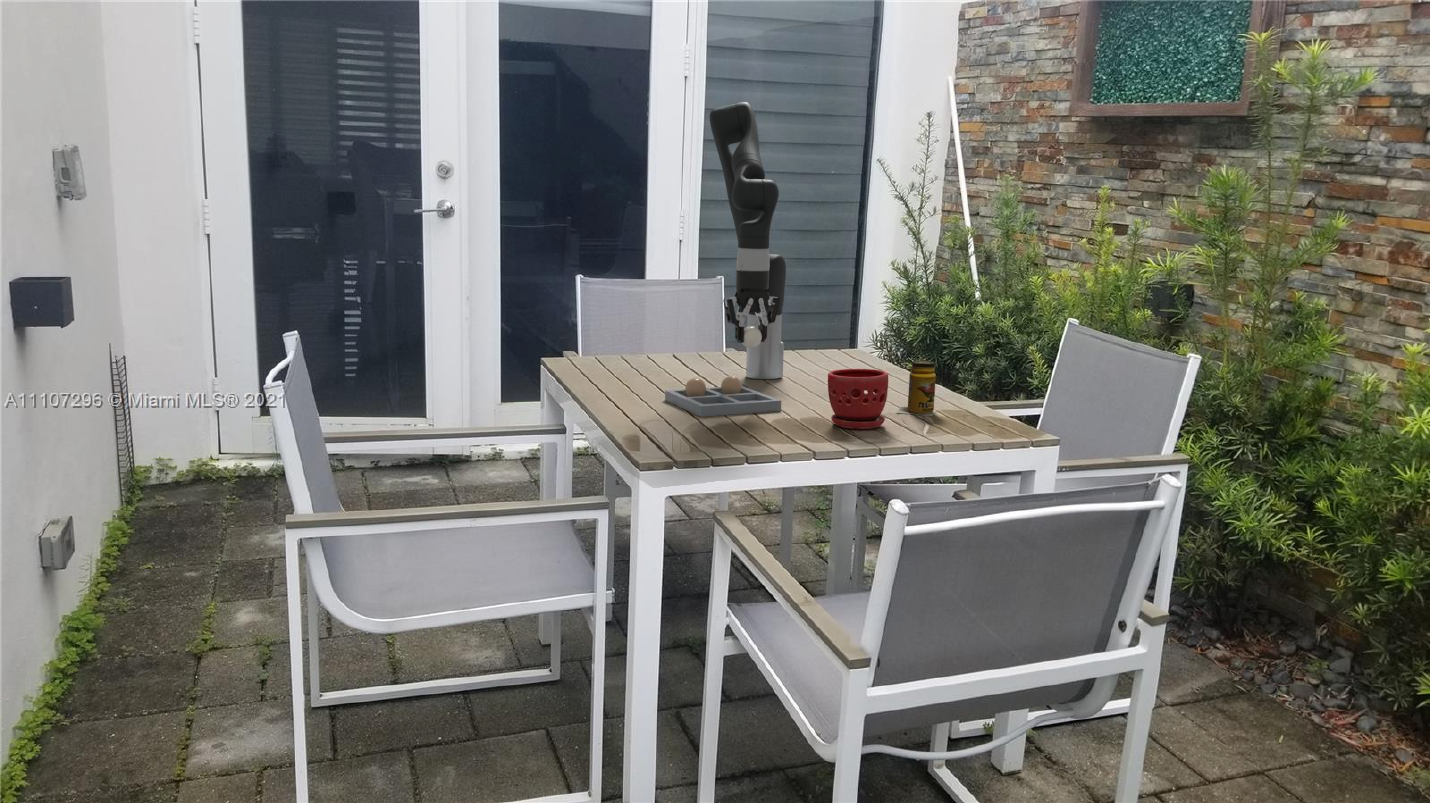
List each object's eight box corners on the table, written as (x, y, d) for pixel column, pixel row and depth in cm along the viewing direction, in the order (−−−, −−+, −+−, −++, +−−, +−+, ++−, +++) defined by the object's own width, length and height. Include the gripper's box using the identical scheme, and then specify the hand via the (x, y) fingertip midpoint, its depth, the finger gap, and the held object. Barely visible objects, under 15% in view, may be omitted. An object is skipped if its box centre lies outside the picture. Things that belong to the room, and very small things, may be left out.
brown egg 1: (700, 396, 269) (700, 375, 268) (709, 400, 265) (709, 379, 264) (681, 397, 267) (681, 377, 266) (690, 401, 262) (690, 380, 261)
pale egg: (755, 345, 262) (755, 324, 261) (765, 348, 258) (766, 327, 257) (736, 346, 260) (736, 325, 259) (745, 349, 256) (746, 328, 255)
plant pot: (875, 419, 252) (877, 366, 250) (894, 431, 240) (897, 376, 237) (819, 419, 250) (821, 367, 248) (835, 432, 237) (837, 377, 235)
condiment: (933, 416, 257) (936, 365, 255) (896, 413, 259) (899, 362, 257) (936, 410, 264) (939, 360, 261) (900, 407, 266) (903, 358, 264)
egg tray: (740, 395, 277) (741, 385, 277) (781, 410, 259) (781, 400, 259) (664, 400, 268) (665, 390, 268) (701, 416, 250) (701, 406, 250)
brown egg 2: (735, 394, 273) (736, 373, 272) (745, 397, 269) (745, 377, 268) (717, 395, 271) (717, 374, 270) (726, 398, 266) (726, 378, 266)
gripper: (772, 266, 262) (770, 338, 265) (717, 267, 256) (715, 341, 259) (788, 269, 255) (785, 343, 258) (732, 269, 249) (730, 345, 252)
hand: (750, 341), depth 259 cm, fingers closed on pale egg, 5 cm apart
